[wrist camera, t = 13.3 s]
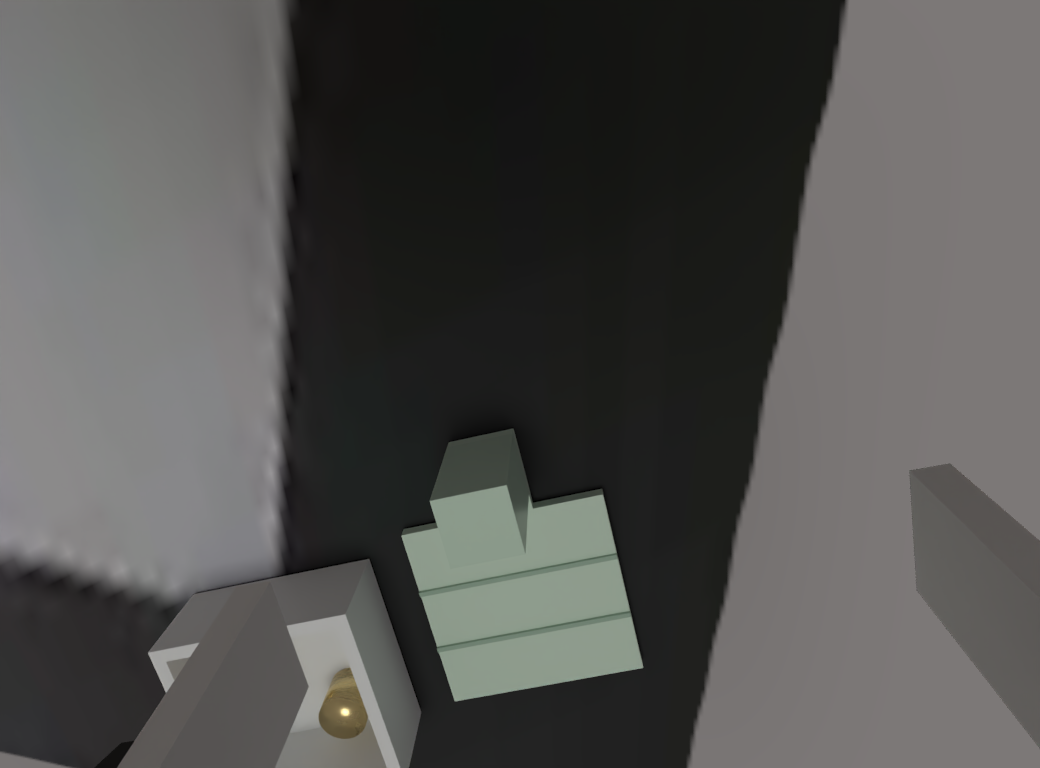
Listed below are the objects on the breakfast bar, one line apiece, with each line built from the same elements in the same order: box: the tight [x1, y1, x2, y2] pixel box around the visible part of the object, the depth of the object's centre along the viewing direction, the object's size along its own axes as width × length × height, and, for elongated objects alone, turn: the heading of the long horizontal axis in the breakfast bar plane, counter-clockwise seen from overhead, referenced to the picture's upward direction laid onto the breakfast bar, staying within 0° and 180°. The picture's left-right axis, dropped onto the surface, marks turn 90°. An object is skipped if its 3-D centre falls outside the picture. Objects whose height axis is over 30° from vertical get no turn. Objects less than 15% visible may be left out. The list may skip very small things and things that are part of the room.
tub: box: [148, 559, 421, 768], centre depth 49 cm, size 12×12×6 cm
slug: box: [318, 668, 368, 739], centre depth 50 cm, size 3×3×3 cm
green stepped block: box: [401, 428, 643, 701], centre depth 45 cm, size 18×13×8 cm
